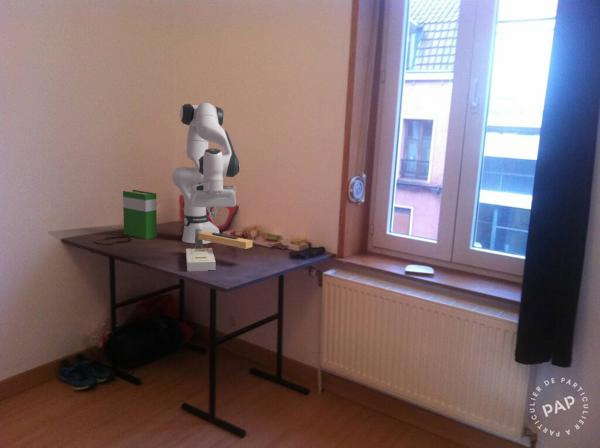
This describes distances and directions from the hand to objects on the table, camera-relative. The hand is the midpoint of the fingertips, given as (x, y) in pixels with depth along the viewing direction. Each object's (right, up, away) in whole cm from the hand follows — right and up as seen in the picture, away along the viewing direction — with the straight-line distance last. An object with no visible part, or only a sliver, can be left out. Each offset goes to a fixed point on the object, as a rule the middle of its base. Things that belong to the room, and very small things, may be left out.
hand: (212, 216), depth 234 cm
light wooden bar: (+3, -12, +9) cm, 15 cm away
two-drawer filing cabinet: (-7, -21, +7) cm, 23 cm away
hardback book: (-49, -10, +53) cm, 72 cm away
